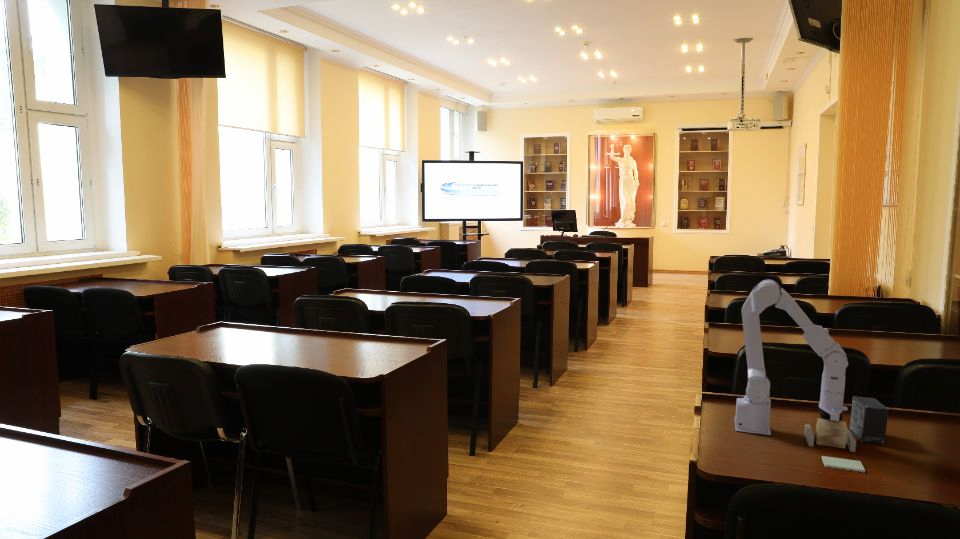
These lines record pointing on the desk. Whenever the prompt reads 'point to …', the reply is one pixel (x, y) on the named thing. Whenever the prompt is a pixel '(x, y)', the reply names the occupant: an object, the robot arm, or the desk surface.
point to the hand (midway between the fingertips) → (828, 437)
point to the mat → (843, 464)
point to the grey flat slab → (849, 441)
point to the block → (831, 433)
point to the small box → (868, 420)
